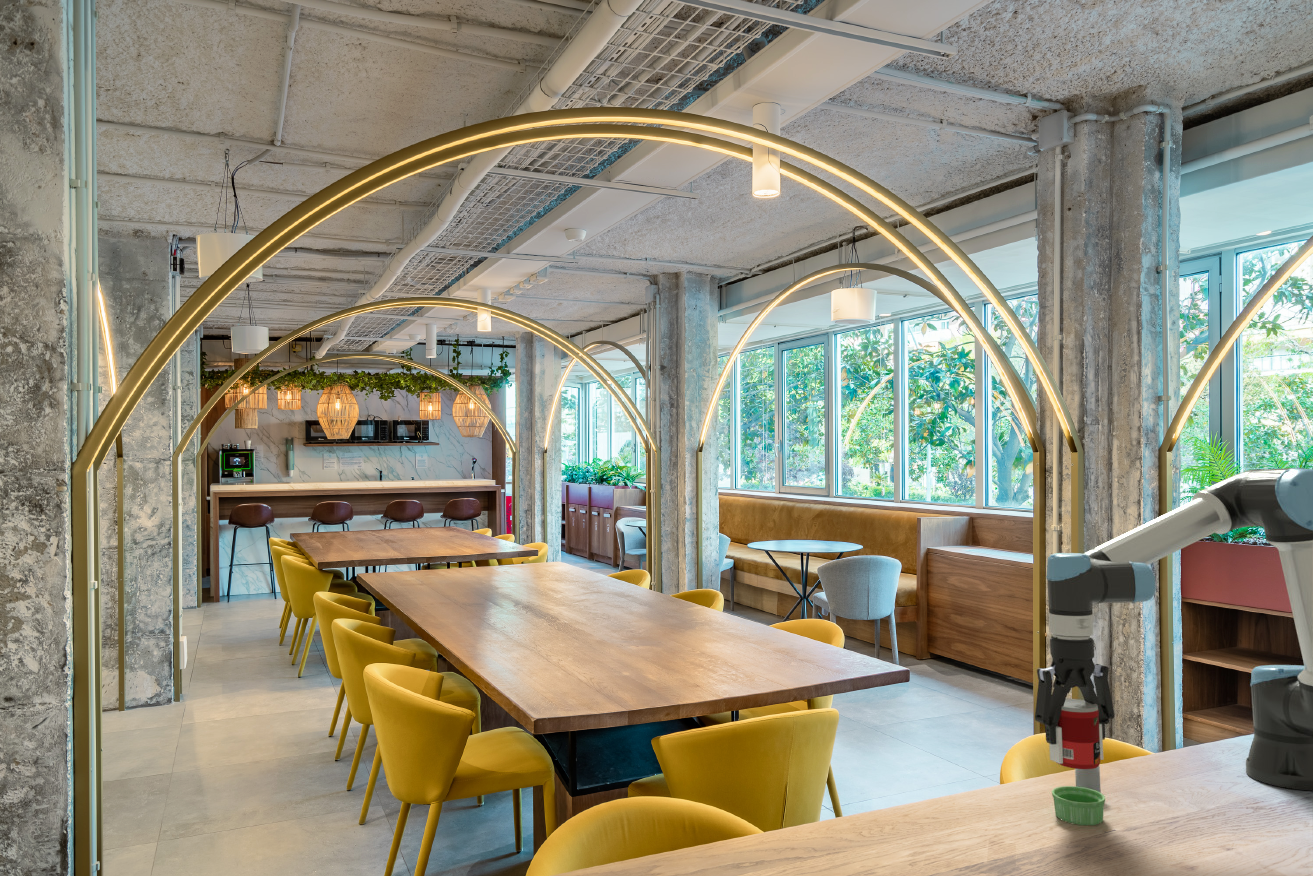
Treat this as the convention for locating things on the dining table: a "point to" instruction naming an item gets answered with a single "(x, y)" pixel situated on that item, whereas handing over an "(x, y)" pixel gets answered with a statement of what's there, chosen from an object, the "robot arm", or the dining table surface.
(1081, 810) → the ramekin
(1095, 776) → the pepper pot
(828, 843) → the dining table surface
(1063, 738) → the canned food
